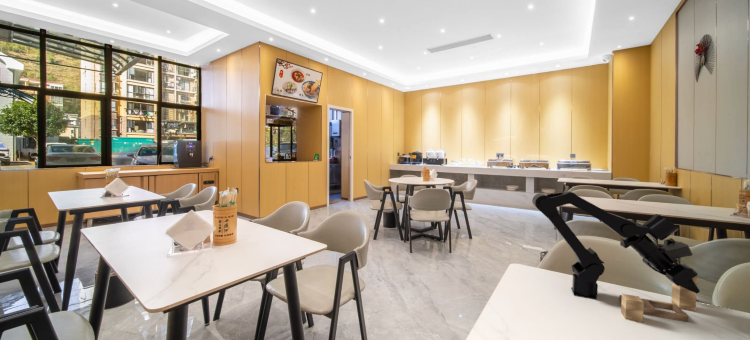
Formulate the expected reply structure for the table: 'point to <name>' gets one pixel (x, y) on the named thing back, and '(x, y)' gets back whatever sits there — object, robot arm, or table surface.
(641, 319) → the short peg
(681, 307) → the long peg
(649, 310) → the socket board
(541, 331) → the table surface
